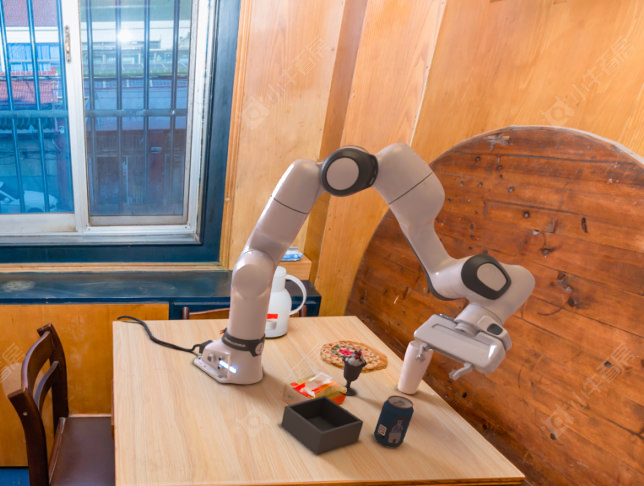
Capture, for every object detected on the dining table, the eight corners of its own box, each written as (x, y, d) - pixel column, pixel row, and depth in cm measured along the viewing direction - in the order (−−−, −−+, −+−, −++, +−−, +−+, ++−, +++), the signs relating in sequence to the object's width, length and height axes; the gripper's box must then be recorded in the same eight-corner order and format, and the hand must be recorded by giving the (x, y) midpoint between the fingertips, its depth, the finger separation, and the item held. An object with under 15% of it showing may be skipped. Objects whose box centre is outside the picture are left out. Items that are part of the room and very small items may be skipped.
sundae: (347, 399, 148) (360, 353, 141) (330, 388, 154) (341, 343, 146) (363, 394, 151) (376, 348, 143) (345, 383, 156) (357, 339, 149)
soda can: (386, 430, 135) (399, 392, 129) (407, 445, 129) (422, 405, 123) (366, 436, 132) (378, 397, 126) (387, 451, 127) (401, 411, 121)
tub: (280, 425, 136) (284, 406, 133) (320, 414, 141) (324, 395, 138) (316, 454, 125) (321, 434, 122) (357, 441, 130) (363, 421, 127)
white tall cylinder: (421, 397, 150) (438, 351, 142) (397, 394, 151) (412, 349, 144) (415, 386, 156) (431, 341, 148) (391, 383, 157) (406, 339, 149)
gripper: (433, 304, 129) (395, 345, 130) (514, 335, 113) (470, 381, 114) (439, 317, 133) (402, 357, 134) (519, 349, 117) (475, 394, 118)
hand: (434, 369), depth 124 cm, fingers open, 8 cm apart
